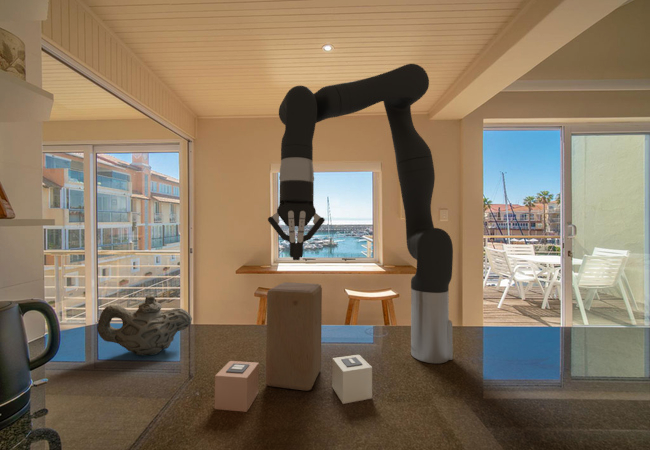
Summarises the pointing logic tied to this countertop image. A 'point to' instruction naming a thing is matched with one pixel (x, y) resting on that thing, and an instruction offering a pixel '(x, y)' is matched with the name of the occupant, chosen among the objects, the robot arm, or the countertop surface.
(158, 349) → the teapot
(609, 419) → the countertop surface
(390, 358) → the countertop surface
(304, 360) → the wooden block
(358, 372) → the cream cube
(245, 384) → the pink cube
